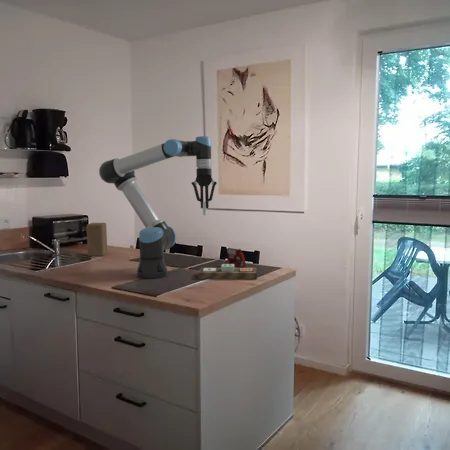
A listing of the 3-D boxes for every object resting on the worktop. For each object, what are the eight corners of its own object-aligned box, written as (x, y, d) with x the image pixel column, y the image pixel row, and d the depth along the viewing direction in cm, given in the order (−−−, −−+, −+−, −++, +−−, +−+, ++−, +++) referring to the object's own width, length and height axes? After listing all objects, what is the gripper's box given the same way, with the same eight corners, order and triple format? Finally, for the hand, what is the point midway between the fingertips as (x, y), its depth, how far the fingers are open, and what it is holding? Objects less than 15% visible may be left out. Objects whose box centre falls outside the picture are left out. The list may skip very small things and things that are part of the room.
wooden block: (103, 256, 279) (102, 224, 276) (87, 256, 279) (85, 224, 276) (107, 253, 289) (106, 222, 286) (92, 253, 289) (90, 222, 286)
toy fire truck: (239, 270, 233) (239, 250, 232) (223, 267, 242) (223, 248, 241) (248, 268, 237) (248, 249, 236) (232, 265, 247) (232, 246, 245)
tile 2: (221, 273, 217) (221, 266, 217) (222, 270, 223) (222, 263, 223) (233, 273, 217) (233, 266, 216) (234, 270, 223) (234, 263, 222)
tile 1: (202, 277, 218) (202, 270, 218) (204, 274, 224) (204, 267, 224) (215, 277, 218) (215, 270, 217) (216, 274, 223) (216, 267, 223)
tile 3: (239, 277, 217) (239, 270, 216) (240, 274, 223) (240, 267, 222) (252, 277, 216) (252, 270, 216) (252, 274, 222) (252, 267, 222)
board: (198, 279, 215) (197, 272, 215) (201, 273, 227) (200, 267, 227) (256, 279, 213) (256, 273, 213) (256, 273, 225) (256, 267, 225)
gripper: (189, 168, 221) (190, 215, 224) (216, 167, 221) (216, 215, 223) (192, 168, 229) (193, 214, 232) (217, 167, 228) (218, 214, 231)
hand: (204, 214), depth 227 cm, fingers closed
